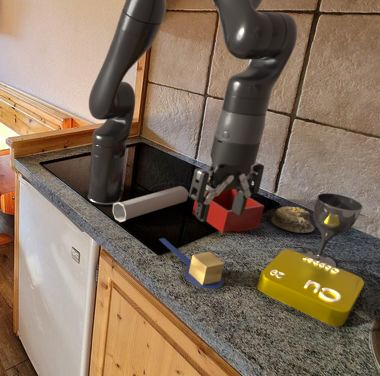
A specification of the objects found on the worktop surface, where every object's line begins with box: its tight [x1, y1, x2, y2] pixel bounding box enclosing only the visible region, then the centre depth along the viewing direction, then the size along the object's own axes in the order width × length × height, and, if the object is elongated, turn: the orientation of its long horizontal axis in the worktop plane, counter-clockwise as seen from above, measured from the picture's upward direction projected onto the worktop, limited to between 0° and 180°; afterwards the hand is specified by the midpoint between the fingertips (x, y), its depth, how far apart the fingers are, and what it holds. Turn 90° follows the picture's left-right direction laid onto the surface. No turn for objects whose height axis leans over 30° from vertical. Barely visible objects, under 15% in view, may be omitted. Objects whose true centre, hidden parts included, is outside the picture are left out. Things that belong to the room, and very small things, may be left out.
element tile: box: [256, 248, 365, 327], centre depth 80 cm, size 15×15×5 cm
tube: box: [112, 185, 189, 223], centre depth 111 cm, size 5×5×25 cm
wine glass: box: [300, 192, 363, 267], centre depth 89 cm, size 8×8×15 cm
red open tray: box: [191, 189, 265, 234], centre depth 106 cm, size 12×12×7 cm
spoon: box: [158, 237, 224, 290], centre depth 89 cm, size 19×8×1 cm, turn 20°
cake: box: [270, 206, 315, 234], centre depth 105 cm, size 10×10×5 cm
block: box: [189, 251, 225, 285], centre depth 83 cm, size 4×4×4 cm
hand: (219, 216), depth 78 cm, fingers open, 8 cm apart
